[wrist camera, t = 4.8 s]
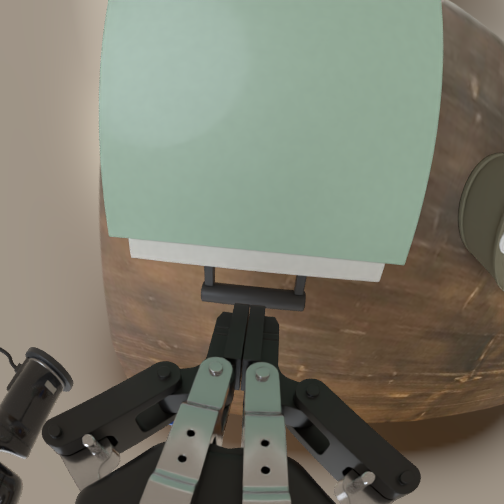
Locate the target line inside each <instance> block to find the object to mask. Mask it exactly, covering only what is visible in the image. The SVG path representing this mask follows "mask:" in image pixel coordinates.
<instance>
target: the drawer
mask: <svg viewBox="0 0 504 504" xmlns="http://www.w3.org/2000/svg"><path fill="white" fill-rule="evenodd" d="M129 246H130V253H131V257H132V258H141V259H149V260H158V261H166V262H175V263H184V264H193V265H202V266H204V271H205V281H204V282H203V285H202V289H201V300H202V301H206V302H214V303H222V304H231V305H235V303H241V304H250V307H251V305H261V306H265V308H269V309H280V310H291V311H303V310H304V307H305V299H306V295H305V292H304V287H305V282H306V277H307V276H313V277H324V278H336V279H347V280H359V281H372V282H379V281H380V278H381V275H382V272H383V269H384V266H385V263H378V262H368V261H358V260H348V259H338V258H327V257H317V256H307V255H297V254H287V253H277V252H266V251H256V250H246V249H236V248H225V247H215V246H205V245H194V244H184V243H174V242H163V241H153V240H142V239H132V238H129ZM215 267H221V268H230V269H240V270H250V271H260V272H270V273H280V274H291V275H296V281H295V287H294V290H285V289H274V288H264V287H254V286H244V285H234V284H225V283H216V282H215Z"/></svg>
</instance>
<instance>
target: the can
mask: <svg viewBox="0 0 504 504" xmlns="http://www.w3.org/2000/svg"><path fill="white" fill-rule="evenodd" d="M458 223H459V232H460V236H461V239H462V241H463V243H464V245H465V247H466V248H467V250H468V251H469V252H470V253H471V254H472V255H474V257H475V258H476V259H477V260H478V261H479V262H480V263H481V264H482V265H483V266H484V267H485V268H486V270H487V271H488V272H489V273H490V274H491V275H492V276H493V278H494V279H495V280H496V283H497V284H498V286H499V287H500V288H501V290H502V291H504V153H495V154H492V155H489V156H488V157H486V158H484V159H483V160H482V161H481V162H480V163H479V164H478V165H477V166H476V167H475V169H474V170H473V171H472V173H471V175H470V176H469V178H468V180H467V182H466V185H465V187H464V190H463V193H462V196H461V200H460V205H459V215H458Z"/></svg>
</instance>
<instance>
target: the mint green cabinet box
mask: <svg viewBox="0 0 504 504" xmlns="http://www.w3.org/2000/svg"><path fill="white" fill-rule="evenodd" d="M442 73H443V21H442V6H441V0H108V6H107V12H106V19H105V25H104V33H103V42H102V52H101V64H100V82H99V83H100V84H99V141H100V160H101V173H102V185H103V194H104V203H105V211H106V218H107V225H108V232H109V236H111V237H121V238H132V239H142V240H153V241H163V242H174V243H184V244H194V245H205V246H215V247H225V248H236V249H246V250H256V251H266V252H277V253H287V254H297V255H307V256H317V257H327V258H338V259H348V260H358V261H368V262H378V263H388V264H398V265H404V264H405V261H406V258H407V255H408V252H409V249H410V246H411V243H412V240H413V236H414V233H415V230H416V226H417V223H418V219H419V215H420V212H421V208H422V204H423V200H424V196H425V192H426V187H427V183H428V178H429V173H430V169H431V163H432V158H433V153H434V147H435V141H436V134H437V127H438V119H439V111H440V101H441V89H442Z"/></svg>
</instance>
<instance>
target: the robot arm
mask: <svg viewBox="0 0 504 504" xmlns="http://www.w3.org/2000/svg"><path fill="white" fill-rule="evenodd" d="M249 308H250V314H249ZM278 349H279V324H278V322H277V320H276V318H275V317H267V316H265V306H261V305H251V307H250V304H241V303H235V305H234V309H233V313H229V312H223V313H222V314H221V315H220V316H219V317H218V318H217V321H216V325H215V328H214V332H213V336H212V339H211V343H210V347H209V351H208V354H207V357H206V359H205V360H204V361H203V362H202V363H201V364H200V365H199V366H196V367H193V368H185V369H179V367H178V366H177V365H176V364H174V363H172V362H168V361H163V362H158V363H156V364H154V365H152V366H151V367H149V368H147V369H145V370H143V371H142V372H140V373H138V374H136V375H134V376H133V377H131V378H129V379H127V380H126V381H123V382H122V383H120V384H118V385H116V386H114V387H112V388H110V389H108V390H107V391H105V392H103V393H101V394H99V395H97V396H95V397H93V398H91V399H89V400H87V401H86V402H83V403H82V404H80V405H78V406H76V407H74V408H72V409H70V410H68V411H65V412H64V413H62V414H59V415H57V416H55V417H53V418H51V419H49V420H48V421H46V420H47V418H48V416H49V414H50V412H51V410H52V408H53V407H54V405H55V403H56V401H57V399H58V397H59V396H60V394H61V392H62V391H63V390H64V388H65V386H66V385H65V382H64V380H63V378H62V377H61V376H60V375H59V374H58V373H57V372H56V371H55V370H54V369H53V368H52V367H51V366H50V365H49V364H47V363H46V362H44V361H43V360H41V359H39V358H37V357H34V356H32V357H27V358H26V360H25V361H24V363H23V364H20V363H19V364H18V366H16V365H15V364H14V363H13V360H12V357H11V356H10V354H9V353H8V352H7V351H5V350H4V349H2V348H0V352H2V353H4V354H5V355H6V356H7V357H8V358H9V362H10V364H11V366H12V367H13V368H14V369H15V372H16V374H15V376H14V377H13V379H12V380H11V382H10V383H9V385H8V386H7V391H8V393H7V394H6V396H5V398H4V399H3V401H2V403H1V404H0V452H6V453H9V454H12V455H15V456H17V457H20V458H22V459H27V458H28V457H29V455H30V452H31V450H32V448H33V446H34V444H35V442H36V440H37V438H38V436H39V434H40V432H41V430H42V437H43V439H44V441H45V442H46V443H47V444H48V445H49V446H50V447H51V448H53V449H54V451H55V452H56V453H57V454H59V455H60V456H61V458H62V460H63V462H64V464H65V466H66V467H67V469H68V471H69V473H70V475H71V476H72V478H73V480H74V481H75V483H76V485H77V486H78V488H79V490H80V491H81V492H80V493H79V495H78V496H77V499H76V502H75V504H336V503H335V502H334V501H333V500H332V499H331V498H330V497H329V496H328V495H327V494H326V493H325V491H324V490H323V489H322V488H321V487H320V486H319V485H318V484H317V483H316V481H315V480H314V479H313V478H312V477H311V476H310V475H309V474H308V472H307V471H306V470H305V469H304V468H303V467H302V466H301V465H300V464H299V463H298V462H296V461H295V460H293V459H291V458H290V457H287V449H286V432H285V424H286V427H287V428H288V429H289V430H290V432H291V433H292V434H293V435H294V436H295V437H296V438H297V439H298V440H299V441H300V443H301V444H302V445H303V446H304V447H305V448H306V449H307V450H308V451H309V452H310V453H311V454H312V456H313V457H314V458H315V459H316V460H317V461H318V462H319V463H320V464H321V465H322V466H323V467H324V468H325V469H326V470H327V471H328V472H329V473H330V474H331V475H332V476H333V477H334V478H335V479H336V480H337V481H338V482H337V483H336V485H335V489H334V493H335V496H336V497H337V499H338V500H339V502H340V504H391V503H392V502H394V501H395V500H397V499H399V498H401V497H403V496H405V495H407V494H409V493H411V492H412V491H414V490H415V489H416V488H417V487H418V485H419V483H420V479H421V476H420V472H419V470H418V468H417V467H416V466H415V465H413V464H412V463H411V462H410V461H409V460H407V459H406V458H405V457H404V456H403V455H402V454H400V453H399V452H398V451H397V450H396V449H395V448H394V447H393V446H391V445H390V444H389V443H388V442H387V441H386V440H384V439H383V438H382V437H381V436H380V435H379V434H378V433H377V432H376V431H374V430H373V429H372V428H371V427H370V426H369V425H368V424H367V423H366V422H365V421H364V420H362V419H361V418H360V417H359V416H358V415H357V414H356V413H355V412H354V411H353V410H352V409H351V408H349V407H348V406H347V405H346V404H345V403H344V402H343V401H342V400H341V399H340V398H339V397H338V396H337V395H336V394H335V393H333V392H332V391H331V390H330V389H329V388H328V387H327V386H326V385H325V384H324V383H323V382H321V381H319V380H316V379H306V380H303V381H301V382H297V381H294V380H291V379H289V378H287V377H285V376H284V375H283V374H282V373H281V372H280V370H279V367H278ZM241 375H242V379H241ZM240 382H241V390H242V391H244V400H243V422H242V444H241V448H234V449H227V448H223V447H222V439H223V435H224V430H225V427H226V423H227V419H228V416H229V412H230V408H231V404H232V400H233V396H234V390H239V388H240ZM173 421H174V422H173ZM45 422H46V423H45ZM172 422H173V425H172V427H171V430H170V432H169V435H168V438H167V440H166V442H163V443H160V444H157V445H155V446H153V447H152V448H150V449H148V450H147V451H145V452H144V453H142V454H141V455H139V456H138V457H136V458H135V459H133V460H131V461H130V462H128V463H126V464H125V465H123V466H121V467H120V468H118V469H117V470H115V471H113V472H111V471H112V470H113V469H115V468H116V467H117V466H118V464H119V462H120V453H122V452H124V451H125V450H127V449H129V448H131V447H132V446H134V445H136V444H138V443H139V442H141V441H143V440H144V439H146V438H148V437H149V436H151V435H153V434H154V433H156V432H157V431H159V430H161V429H162V428H164V427H165V426H167V425H169V424H170V423H172ZM22 489H23V483H22V480H21V478H20V477H19V476H18V475H17V474H16V473H15V472H13V471H12V470H11V469H9V468H8V467H7V466H5V465H4V464H3V463H1V462H0V504H18V503H19V500H20V497H21V494H22Z"/></svg>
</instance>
